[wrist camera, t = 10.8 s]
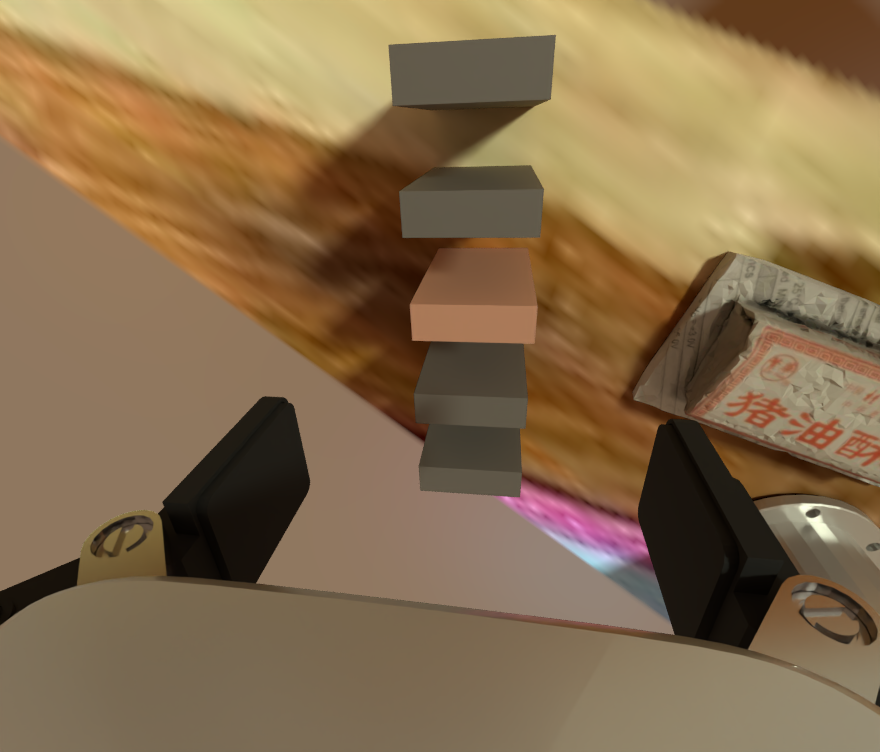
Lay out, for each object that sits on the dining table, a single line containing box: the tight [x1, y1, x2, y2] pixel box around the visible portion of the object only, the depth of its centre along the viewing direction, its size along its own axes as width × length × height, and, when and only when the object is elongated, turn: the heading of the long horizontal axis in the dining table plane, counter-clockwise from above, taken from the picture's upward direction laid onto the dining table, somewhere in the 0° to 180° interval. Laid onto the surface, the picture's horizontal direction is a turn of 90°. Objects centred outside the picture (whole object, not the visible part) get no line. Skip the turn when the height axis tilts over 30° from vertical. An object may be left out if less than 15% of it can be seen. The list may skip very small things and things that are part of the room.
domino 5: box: [419, 424, 522, 497], centre depth 26 cm, size 2×5×9 cm, turn 91°
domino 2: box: [399, 165, 544, 238], centre depth 20 cm, size 2×5×9 cm, turn 92°
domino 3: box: [410, 248, 538, 344], centre depth 22 cm, size 2×5×9 cm, turn 91°
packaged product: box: [632, 252, 880, 487], centre depth 25 cm, size 18×5×10 cm
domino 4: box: [414, 341, 528, 428], centre depth 24 cm, size 2×5×9 cm, turn 92°
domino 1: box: [389, 35, 556, 110], centre depth 18 cm, size 2×5×9 cm, turn 92°
